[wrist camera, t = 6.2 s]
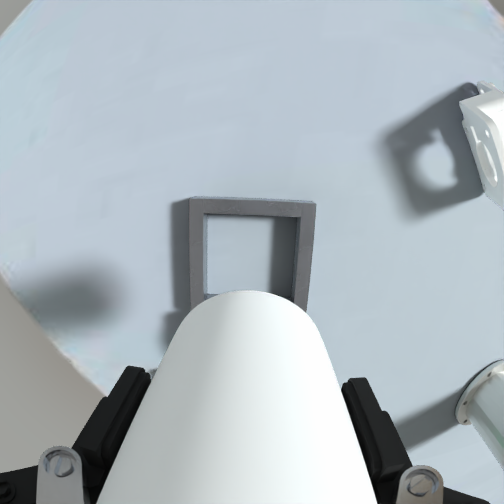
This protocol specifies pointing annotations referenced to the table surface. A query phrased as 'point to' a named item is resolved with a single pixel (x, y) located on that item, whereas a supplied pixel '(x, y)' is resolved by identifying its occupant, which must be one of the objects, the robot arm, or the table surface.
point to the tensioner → (250, 206)
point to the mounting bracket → (487, 137)
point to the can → (242, 415)
